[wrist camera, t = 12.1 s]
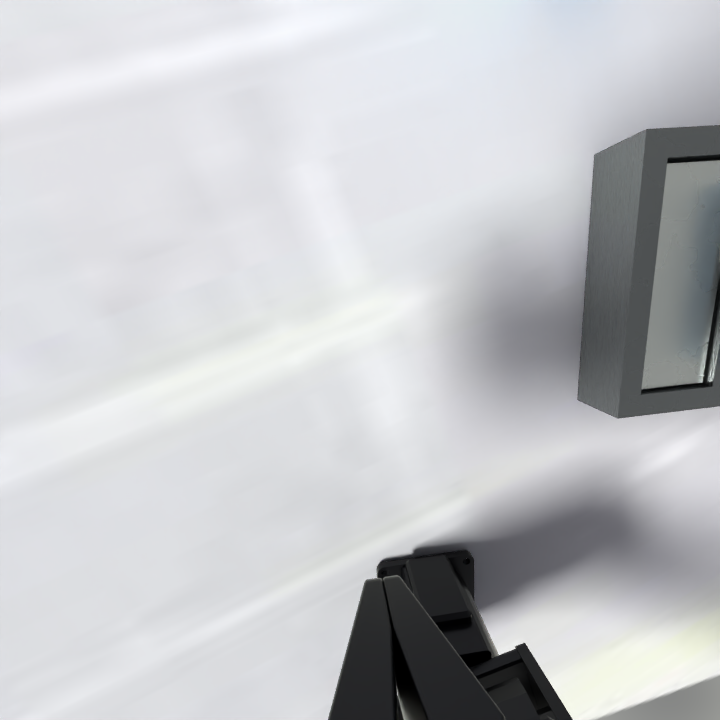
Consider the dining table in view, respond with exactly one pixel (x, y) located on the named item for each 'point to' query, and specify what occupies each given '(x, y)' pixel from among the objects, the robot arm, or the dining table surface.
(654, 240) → the frame
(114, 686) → the dining table surface
